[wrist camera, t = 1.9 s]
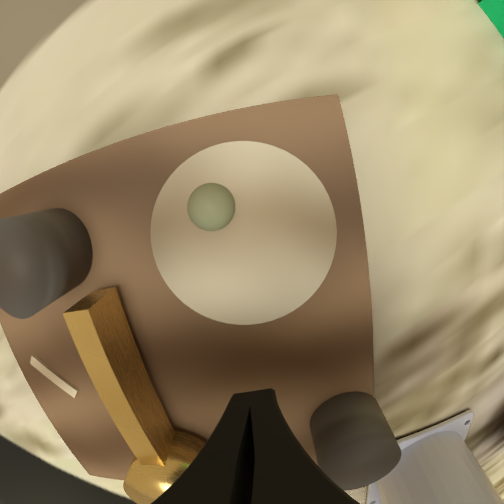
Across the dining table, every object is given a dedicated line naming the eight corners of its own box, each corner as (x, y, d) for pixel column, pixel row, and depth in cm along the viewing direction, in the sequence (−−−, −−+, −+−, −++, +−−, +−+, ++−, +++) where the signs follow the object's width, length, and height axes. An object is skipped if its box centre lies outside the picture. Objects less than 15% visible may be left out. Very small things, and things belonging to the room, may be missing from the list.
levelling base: (368, 441, 16) (390, 500, 11) (96, 461, 17) (73, 508, 12) (335, 102, 12) (379, 62, 7) (-14, 208, 13) (-75, 221, 8)
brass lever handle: (227, 476, 14) (223, 519, 11) (157, 476, 14) (146, 515, 11) (151, 279, 11) (118, 311, 8) (66, 295, 12) (23, 324, 8)
